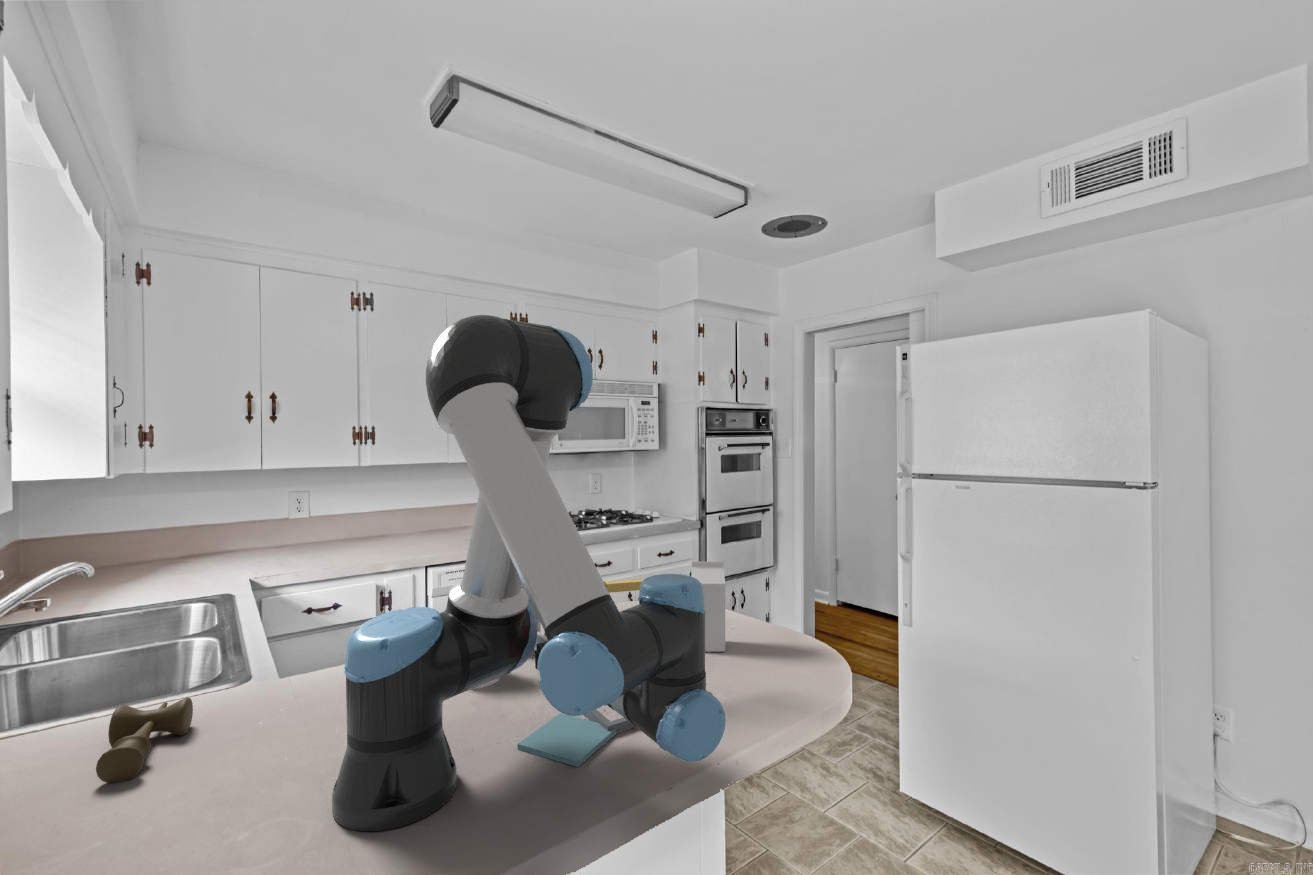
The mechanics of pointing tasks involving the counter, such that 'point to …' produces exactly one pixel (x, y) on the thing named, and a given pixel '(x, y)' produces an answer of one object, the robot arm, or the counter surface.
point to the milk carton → (712, 602)
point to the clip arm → (623, 585)
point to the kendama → (139, 737)
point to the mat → (566, 739)
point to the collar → (607, 724)
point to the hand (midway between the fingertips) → (557, 635)
